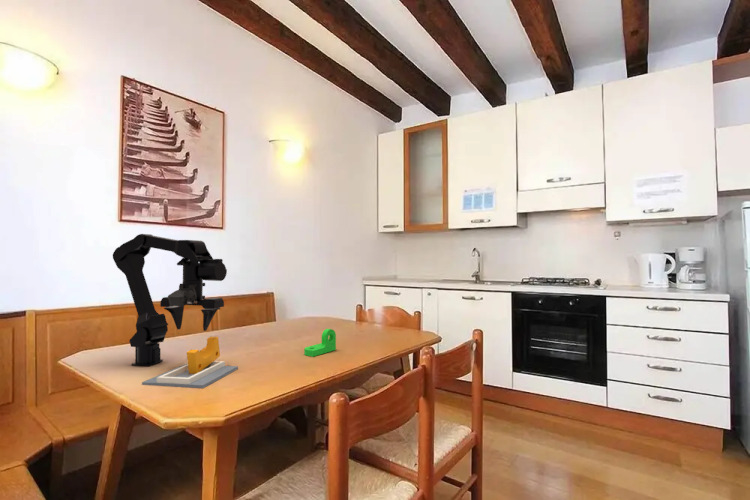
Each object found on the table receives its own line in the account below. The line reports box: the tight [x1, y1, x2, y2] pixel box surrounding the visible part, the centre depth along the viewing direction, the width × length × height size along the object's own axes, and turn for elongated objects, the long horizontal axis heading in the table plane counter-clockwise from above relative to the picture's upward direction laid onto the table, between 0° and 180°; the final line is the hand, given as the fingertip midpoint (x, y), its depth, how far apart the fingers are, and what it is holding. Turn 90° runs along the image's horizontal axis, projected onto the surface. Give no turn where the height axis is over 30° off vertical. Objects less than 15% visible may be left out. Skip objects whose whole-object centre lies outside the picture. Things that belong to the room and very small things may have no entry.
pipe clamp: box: [186, 336, 221, 374], centre depth 118 cm, size 12×4×6 cm, turn 170°
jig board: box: [141, 360, 239, 389], centre depth 112 cm, size 18×18×2 cm
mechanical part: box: [303, 328, 337, 358], centre depth 142 cm, size 12×6×8 cm, turn 144°
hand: (191, 329), depth 122 cm, fingers open, 9 cm apart
